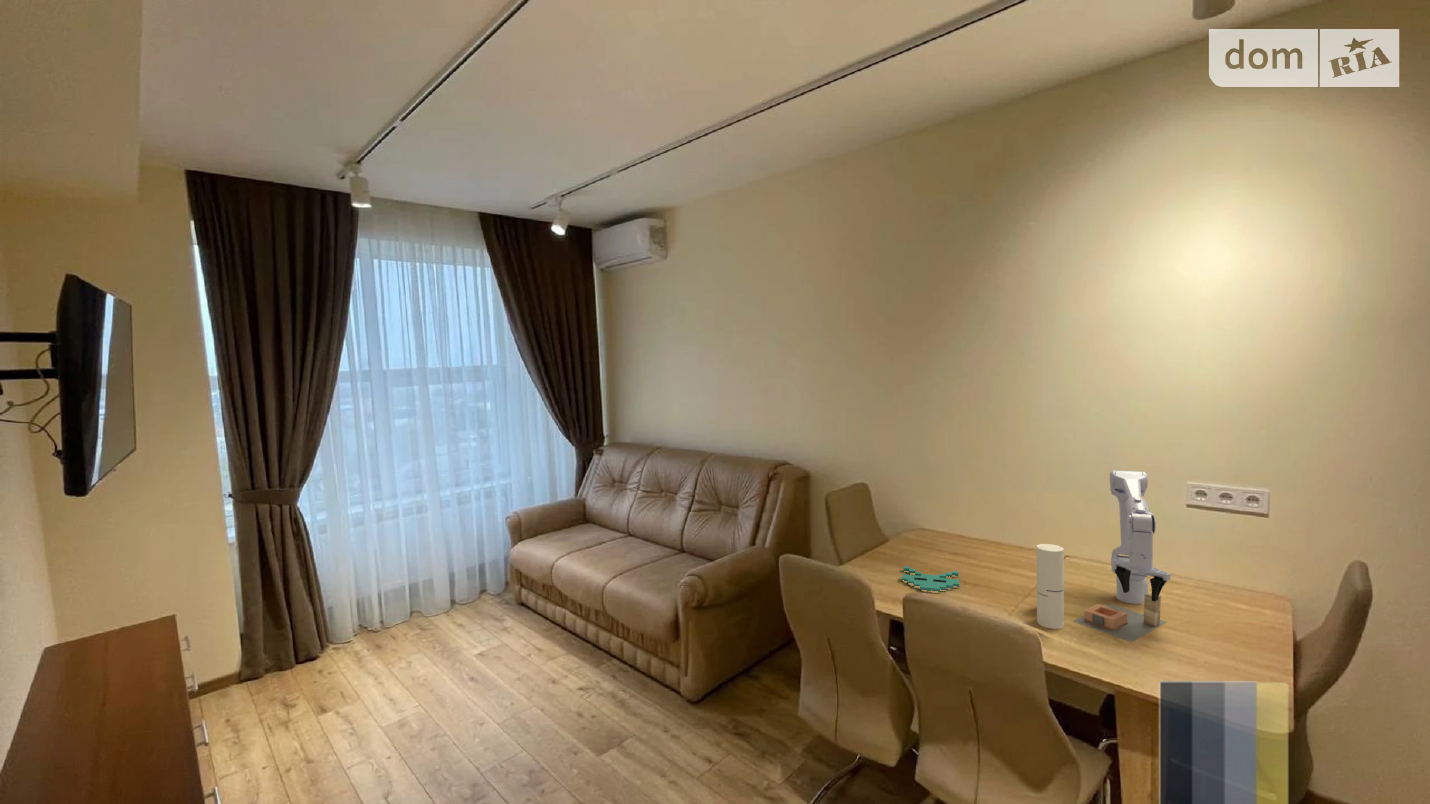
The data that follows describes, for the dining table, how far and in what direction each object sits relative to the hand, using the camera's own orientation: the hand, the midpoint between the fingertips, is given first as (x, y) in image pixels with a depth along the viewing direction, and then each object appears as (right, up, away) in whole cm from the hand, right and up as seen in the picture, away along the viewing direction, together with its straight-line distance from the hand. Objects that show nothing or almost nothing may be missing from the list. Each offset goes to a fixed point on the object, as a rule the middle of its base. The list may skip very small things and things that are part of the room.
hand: (1140, 596), depth 170 cm
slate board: (-5, -10, +2) cm, 11 cm away
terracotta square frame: (-9, -9, +2) cm, 13 cm away
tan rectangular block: (+3, -8, 0) cm, 9 cm away
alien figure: (-48, -10, +41) cm, 64 cm away
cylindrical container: (-26, -11, +3) cm, 28 cm away
